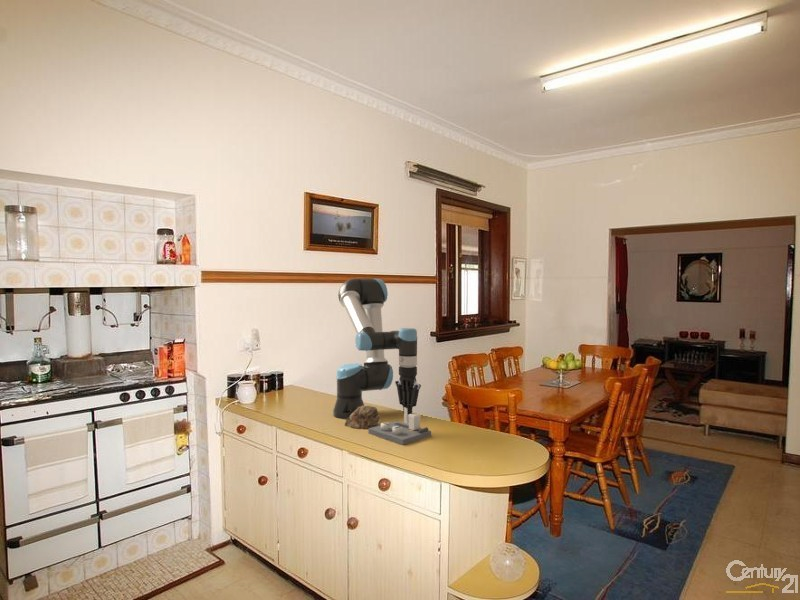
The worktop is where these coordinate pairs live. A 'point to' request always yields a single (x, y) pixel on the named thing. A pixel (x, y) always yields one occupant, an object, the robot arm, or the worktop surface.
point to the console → (399, 432)
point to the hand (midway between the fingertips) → (407, 422)
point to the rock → (363, 418)
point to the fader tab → (414, 421)
